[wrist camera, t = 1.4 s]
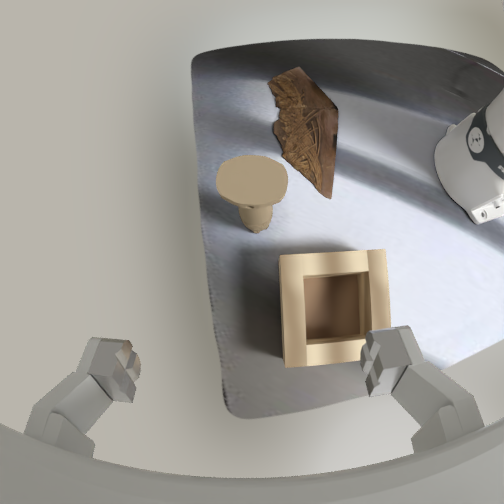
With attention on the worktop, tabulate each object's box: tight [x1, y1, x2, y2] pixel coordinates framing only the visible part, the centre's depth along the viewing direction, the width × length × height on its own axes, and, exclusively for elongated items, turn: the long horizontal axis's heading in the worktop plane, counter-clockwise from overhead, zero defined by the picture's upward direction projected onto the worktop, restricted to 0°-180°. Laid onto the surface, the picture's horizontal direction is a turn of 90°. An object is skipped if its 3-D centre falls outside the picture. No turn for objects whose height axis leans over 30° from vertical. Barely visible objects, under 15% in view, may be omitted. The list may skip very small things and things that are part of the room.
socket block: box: [278, 249, 391, 368], centre depth 36 cm, size 13×13×6 cm
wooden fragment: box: [267, 67, 338, 199], centre depth 43 cm, size 26×11×1 cm, turn 4°
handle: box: [216, 155, 288, 233], centre depth 34 cm, size 5×6×15 cm
